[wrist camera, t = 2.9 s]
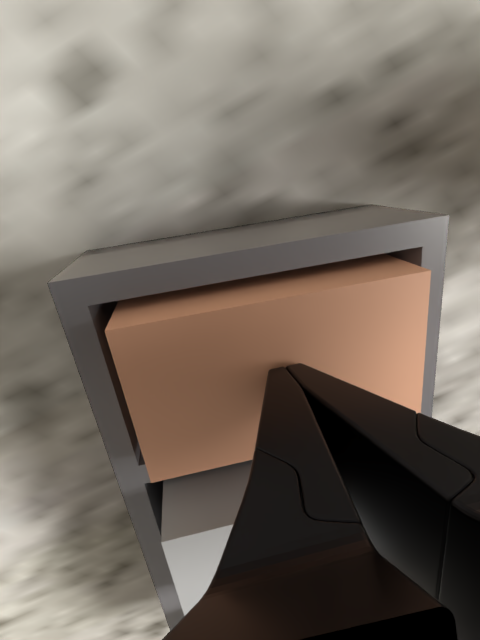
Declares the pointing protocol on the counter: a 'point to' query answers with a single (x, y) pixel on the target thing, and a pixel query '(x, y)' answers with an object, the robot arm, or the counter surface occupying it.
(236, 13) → the counter surface
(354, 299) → the terracotta key
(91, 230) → the counter surface
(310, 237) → the key panel
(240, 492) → the grey key
